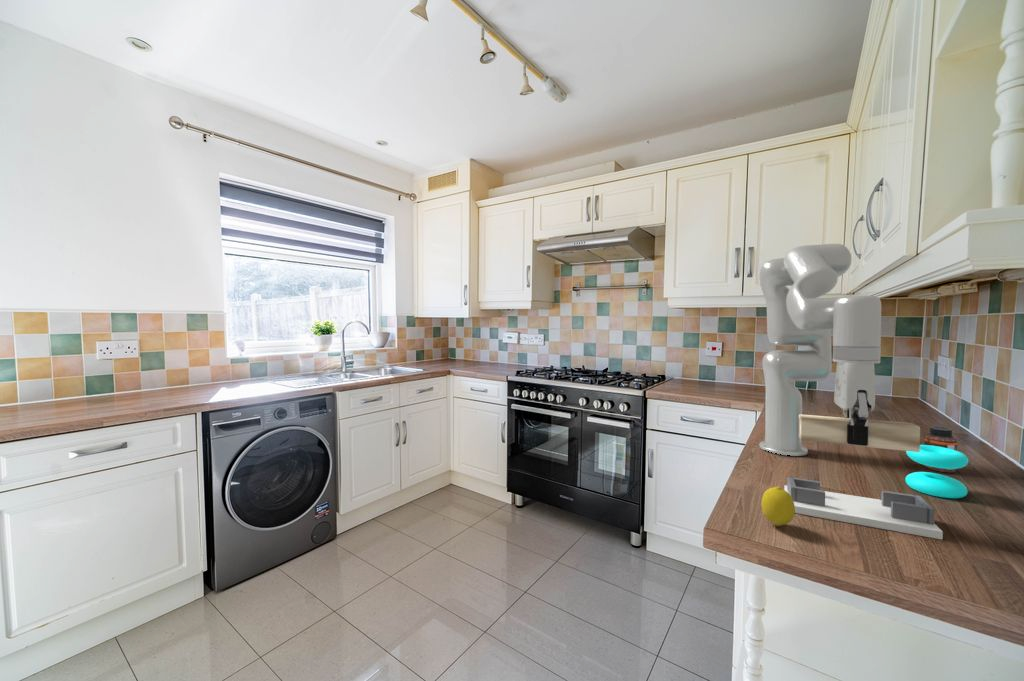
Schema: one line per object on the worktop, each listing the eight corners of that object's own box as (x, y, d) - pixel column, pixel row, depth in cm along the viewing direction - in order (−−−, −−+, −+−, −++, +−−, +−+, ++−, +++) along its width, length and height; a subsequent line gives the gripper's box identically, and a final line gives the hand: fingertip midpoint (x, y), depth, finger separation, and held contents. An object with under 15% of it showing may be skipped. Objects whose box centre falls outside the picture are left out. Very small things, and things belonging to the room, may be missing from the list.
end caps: (787, 489, 92) (787, 476, 92) (919, 510, 81) (919, 495, 81) (791, 500, 86) (791, 487, 86) (934, 524, 75) (934, 509, 75)
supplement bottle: (960, 475, 102) (962, 432, 102) (928, 471, 105) (929, 429, 105) (951, 468, 107) (952, 427, 107) (920, 464, 110) (921, 424, 110)
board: (784, 491, 94) (784, 485, 94) (916, 512, 83) (916, 505, 83) (790, 512, 84) (790, 505, 84) (942, 539, 73) (942, 531, 73)
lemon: (800, 534, 75) (800, 493, 75) (768, 532, 76) (768, 491, 76) (786, 520, 81) (786, 482, 80) (756, 518, 82) (756, 480, 81)
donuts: (979, 459, 86) (916, 452, 91) (977, 504, 86) (915, 495, 91) (955, 446, 95) (899, 441, 99) (953, 487, 95) (898, 480, 100)
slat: (798, 436, 89) (799, 414, 89) (912, 447, 80) (912, 422, 80) (801, 440, 86) (801, 417, 86) (919, 452, 77) (920, 426, 77)
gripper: (825, 352, 91) (824, 430, 92) (842, 357, 77) (841, 450, 78) (867, 352, 88) (866, 434, 88) (894, 358, 73) (892, 456, 74)
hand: (854, 440), depth 83 cm, fingers closed on slat, 3 cm apart
